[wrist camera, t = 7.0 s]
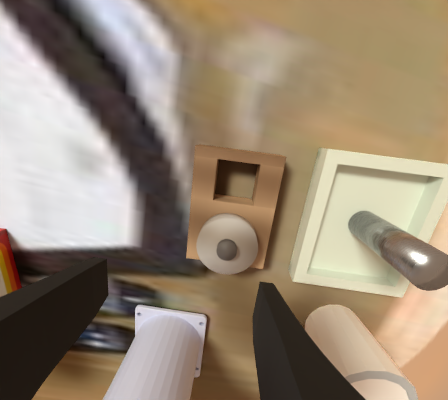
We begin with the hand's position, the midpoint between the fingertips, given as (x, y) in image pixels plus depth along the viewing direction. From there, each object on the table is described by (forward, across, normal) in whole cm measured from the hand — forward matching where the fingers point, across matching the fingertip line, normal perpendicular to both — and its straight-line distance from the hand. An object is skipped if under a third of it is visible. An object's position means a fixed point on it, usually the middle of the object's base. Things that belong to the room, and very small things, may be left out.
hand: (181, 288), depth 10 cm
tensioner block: (+10, -2, -1) cm, 11 cm away
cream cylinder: (+11, -14, +11) cm, 21 cm away
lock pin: (+10, -14, -1) cm, 17 cm away
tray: (+10, -14, -1) cm, 17 cm away
